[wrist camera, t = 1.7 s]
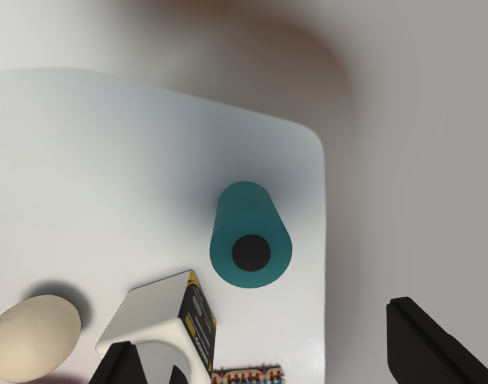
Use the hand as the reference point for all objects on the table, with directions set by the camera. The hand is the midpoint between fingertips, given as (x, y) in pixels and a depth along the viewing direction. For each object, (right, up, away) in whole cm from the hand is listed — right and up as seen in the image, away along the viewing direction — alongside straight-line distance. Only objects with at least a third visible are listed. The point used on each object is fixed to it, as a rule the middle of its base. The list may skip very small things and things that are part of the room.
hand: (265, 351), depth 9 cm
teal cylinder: (-1, +4, +15) cm, 16 cm away
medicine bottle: (-8, -6, +18) cm, 21 cm away
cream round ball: (-20, -7, +18) cm, 28 cm away
